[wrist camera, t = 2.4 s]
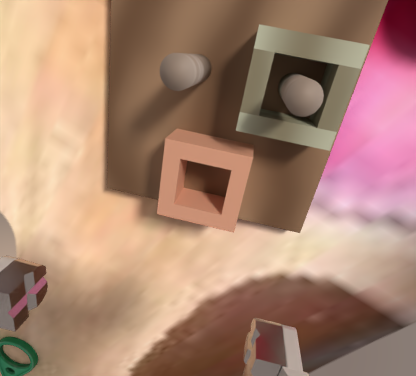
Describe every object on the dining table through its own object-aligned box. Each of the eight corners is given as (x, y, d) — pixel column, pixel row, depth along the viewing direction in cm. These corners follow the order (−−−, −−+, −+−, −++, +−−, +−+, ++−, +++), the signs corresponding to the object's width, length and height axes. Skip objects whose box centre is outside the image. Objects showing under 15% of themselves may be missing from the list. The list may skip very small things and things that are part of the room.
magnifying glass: (3, 327, 39) (-7, 338, 38) (44, 346, 40) (35, 358, 38) (-10, 381, 46) (-19, 392, 44) (25, 397, 46) (17, 409, 45)
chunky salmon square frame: (253, 145, 22) (253, 157, 19) (236, 212, 24) (233, 232, 21) (176, 128, 22) (165, 138, 19) (167, 196, 25) (156, 213, 22)
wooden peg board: (403, -63, 17) (501, -144, 10) (297, 223, 25) (311, 284, 19) (124, -107, 18) (43, -207, 11) (114, 181, 27) (65, 223, 20)
